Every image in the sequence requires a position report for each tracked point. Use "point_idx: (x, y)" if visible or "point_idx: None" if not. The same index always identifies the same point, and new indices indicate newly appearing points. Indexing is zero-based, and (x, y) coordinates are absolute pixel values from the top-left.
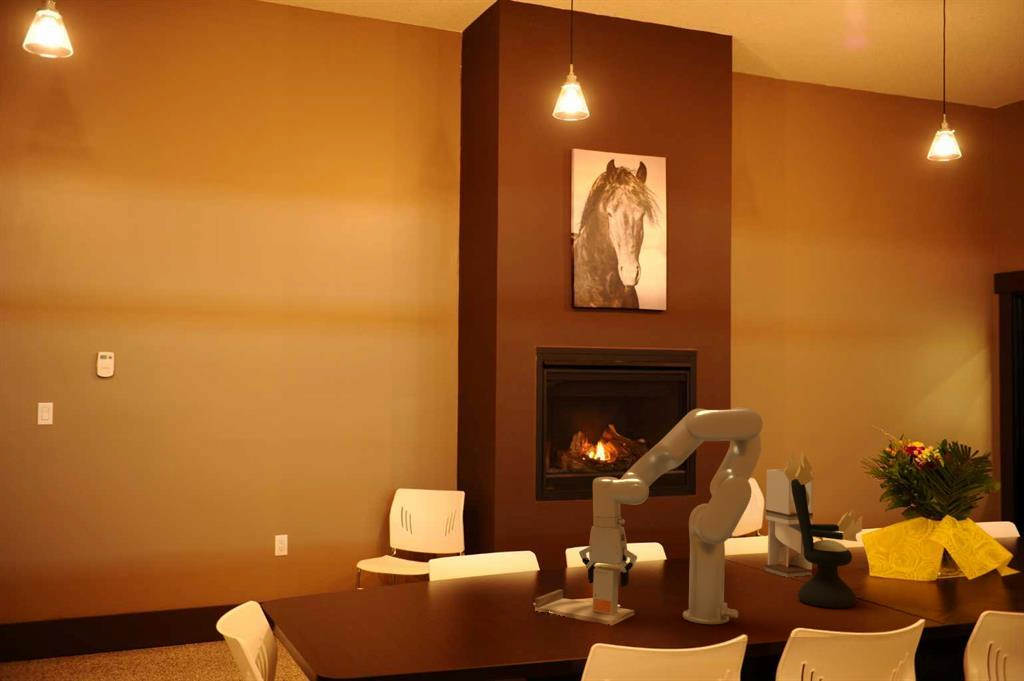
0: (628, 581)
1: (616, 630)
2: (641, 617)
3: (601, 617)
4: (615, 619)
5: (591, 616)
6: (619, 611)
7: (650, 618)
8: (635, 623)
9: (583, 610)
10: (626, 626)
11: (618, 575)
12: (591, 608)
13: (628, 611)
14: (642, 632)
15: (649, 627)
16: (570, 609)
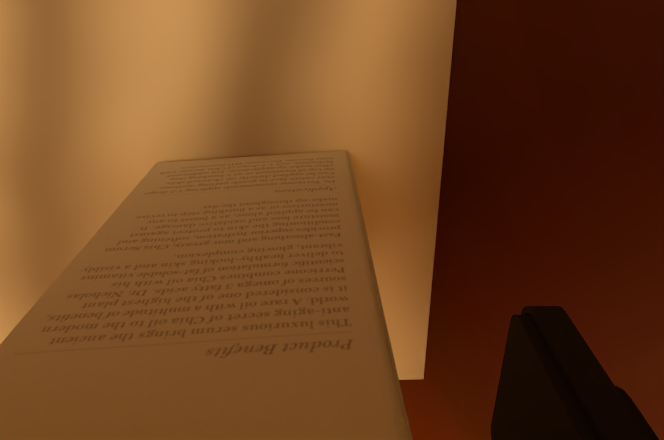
0: (620, 392)
1: (480, 422)
2: (537, 26)
3: None
4: (426, 339)
5: None
6: (352, 115)
7: (622, 5)
8: (541, 228)
9: None
10: (506, 326)
11: (405, 414)
12: (101, 180)
13: (424, 62)
14: (635, 376)
15: (660, 260)
16: (7, 306)
